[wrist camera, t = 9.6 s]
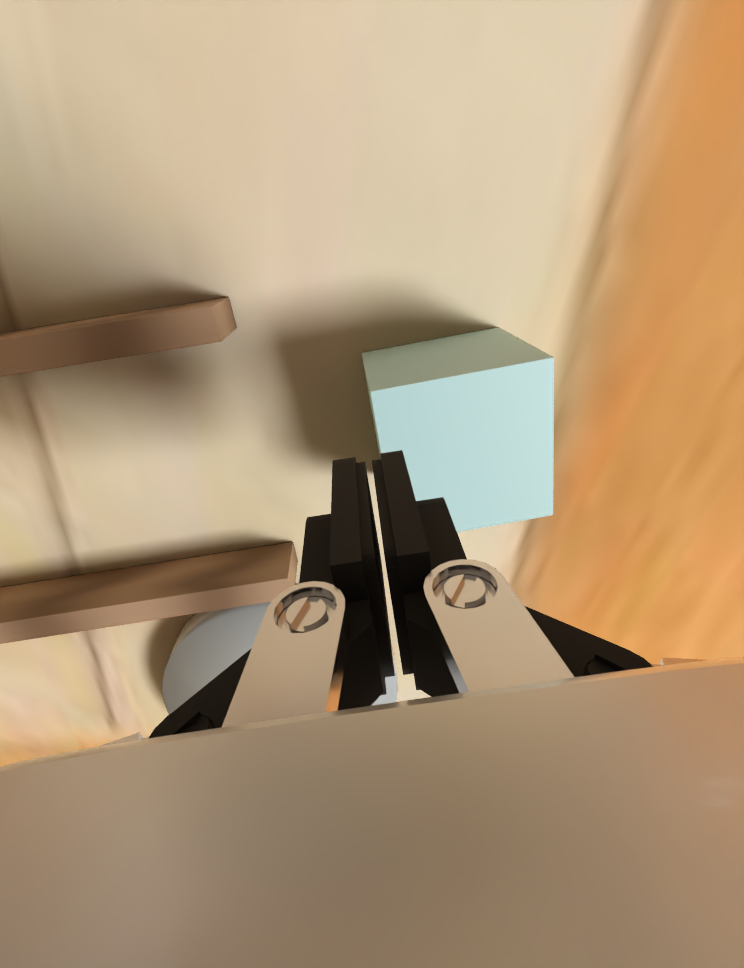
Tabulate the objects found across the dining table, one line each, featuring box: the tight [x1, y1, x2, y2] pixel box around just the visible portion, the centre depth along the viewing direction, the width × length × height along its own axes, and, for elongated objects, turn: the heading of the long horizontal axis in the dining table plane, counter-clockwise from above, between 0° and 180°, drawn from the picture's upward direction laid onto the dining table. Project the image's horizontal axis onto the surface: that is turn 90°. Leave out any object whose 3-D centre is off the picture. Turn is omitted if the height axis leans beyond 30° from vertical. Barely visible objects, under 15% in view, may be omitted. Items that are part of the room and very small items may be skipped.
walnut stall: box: [0, 297, 298, 644], centre depth 18 cm, size 19×11×2 cm, turn 98°
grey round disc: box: [162, 584, 398, 715], centre depth 24 cm, size 11×11×2 cm
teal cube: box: [361, 327, 554, 532], centre depth 16 cm, size 5×5×5 cm
